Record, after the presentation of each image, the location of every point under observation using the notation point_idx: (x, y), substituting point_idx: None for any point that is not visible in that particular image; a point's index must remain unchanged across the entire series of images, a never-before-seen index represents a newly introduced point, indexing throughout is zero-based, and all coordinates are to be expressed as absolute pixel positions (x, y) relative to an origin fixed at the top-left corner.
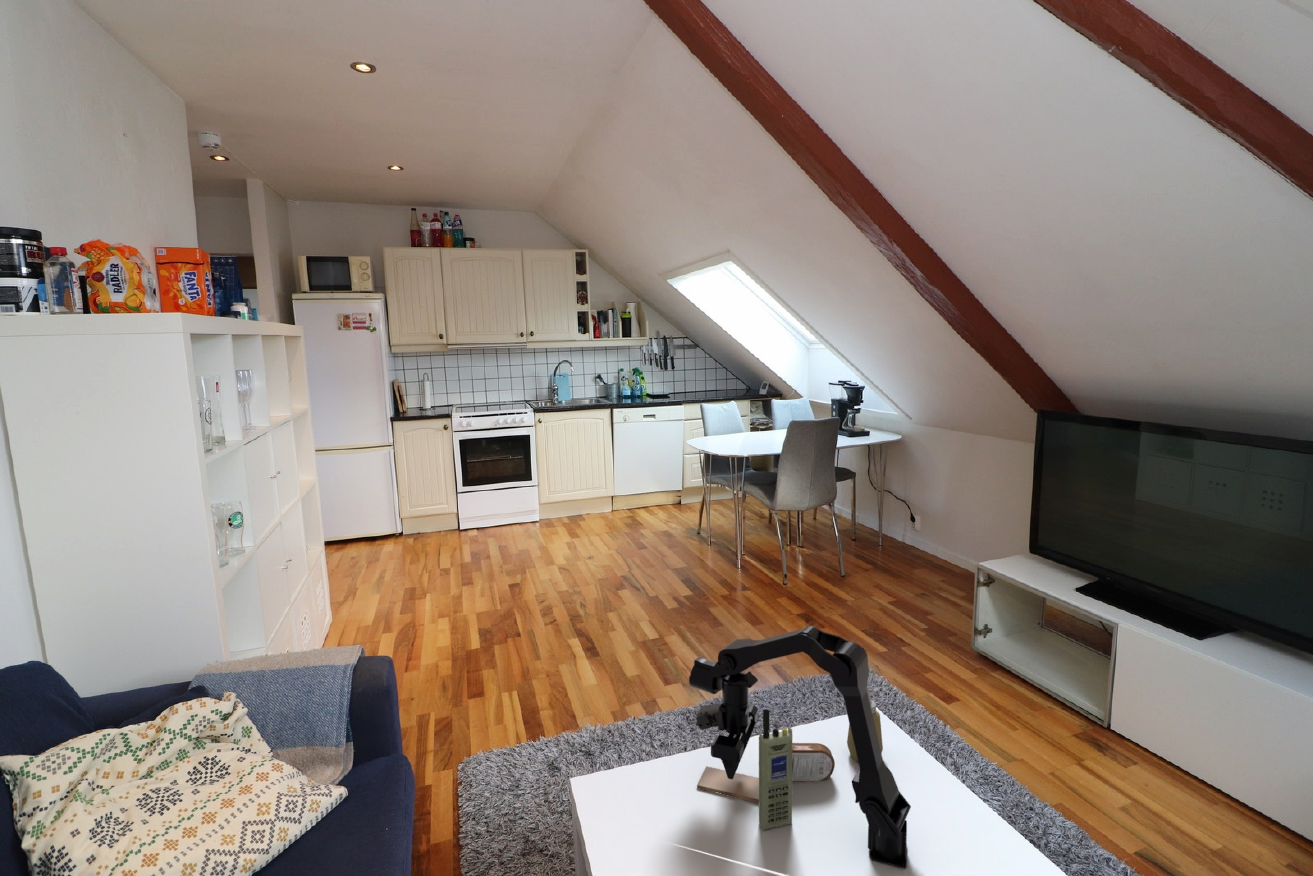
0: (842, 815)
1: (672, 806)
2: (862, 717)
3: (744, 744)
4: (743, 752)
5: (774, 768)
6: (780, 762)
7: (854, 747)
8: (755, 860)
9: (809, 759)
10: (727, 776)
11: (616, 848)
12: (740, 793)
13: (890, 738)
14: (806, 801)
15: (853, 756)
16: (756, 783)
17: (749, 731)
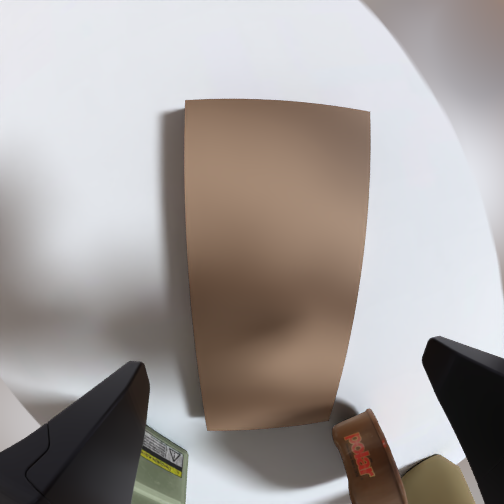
0: (252, 499)
1: (57, 64)
2: None
3: (456, 413)
4: (428, 374)
5: None
6: None
7: (420, 496)
8: (16, 389)
9: None
10: (119, 370)
11: None
12: (207, 344)
13: (460, 458)
14: (276, 466)
15: (417, 477)
16: (302, 381)
17: (493, 488)
